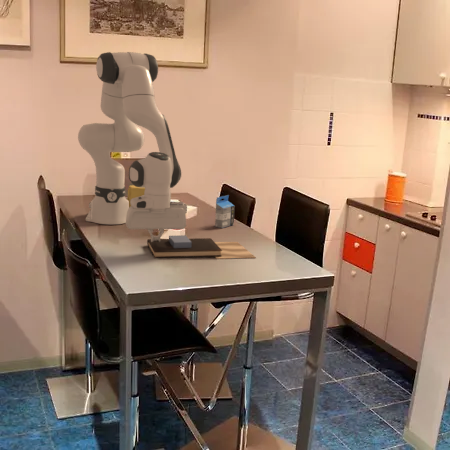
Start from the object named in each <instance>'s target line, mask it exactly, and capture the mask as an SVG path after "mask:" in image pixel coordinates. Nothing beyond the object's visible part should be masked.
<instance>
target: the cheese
mask: <svg viewBox="0 0 450 450" xmlns="http://www.w3.org/2000/svg"><path fill="white" fill-rule="evenodd" d="M144 192H145V188H140V187H136V186H134V185H133V184H132V185H129V186H128V188H127V197H126V199H127V200H128V201H129V207H130V206H131V204H130V200H131V199H132V198H136V197H139V196H142V195H144Z"/></svg>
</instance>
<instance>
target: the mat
mask: <svg viewBox="0 0 450 450" xmlns="http://www.w3.org/2000/svg"><path fill="white" fill-rule="evenodd" d="M214 242H215V243H216V244H217V245H218V247H219V248H220V249H221V250H222V251H221V255H222V256H220V257H215V259H216V260H224V259H225V260H228V259H230V260H231V258H237V259H238V258H239V259H256V256H255V255H254V254H253V253H251V252H250V251H249V250H248V249H246V248H245V247H244V246H243V245H242V244H240V242H238V241H214ZM239 259H238V260H239Z"/></svg>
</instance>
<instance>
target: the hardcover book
mask: <svg viewBox="0 0 450 450" xmlns="http://www.w3.org/2000/svg"><path fill="white" fill-rule="evenodd" d="M188 239H189V240H190V241H191V242H192V245H191V248H174V247H173V246H172V245H171V243H170V242H169V238H160V242H151V238H149V239H147V241H146V243H147V248H148V249H149V251H150V253H151V254H152V256H153V258H154V259H167V258H168V259H169V258H170V259H174V258H175V259H176V258H177V259H178V258H208V257H209V258H211V257H212V258H213V257H220V256H222V255H221V251H222V250H221V249H220V248H219V247H218V245H217V244H216V243H215V242H216V241H214V239H212V238H211V237H210V238H209V237H207V238H205V237H203V238H197V237H195V238H194V237H193V238H188Z"/></svg>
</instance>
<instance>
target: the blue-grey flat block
mask: <svg viewBox="0 0 450 450" xmlns="http://www.w3.org/2000/svg"><path fill="white" fill-rule="evenodd" d="M168 239H169V242H170V243H171V245H172V246H173V247H174V248H191V245H192V242H191V241H190V240H189V239H190V238H189V237H188V236H187V235H183V234H181V235H168Z"/></svg>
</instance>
